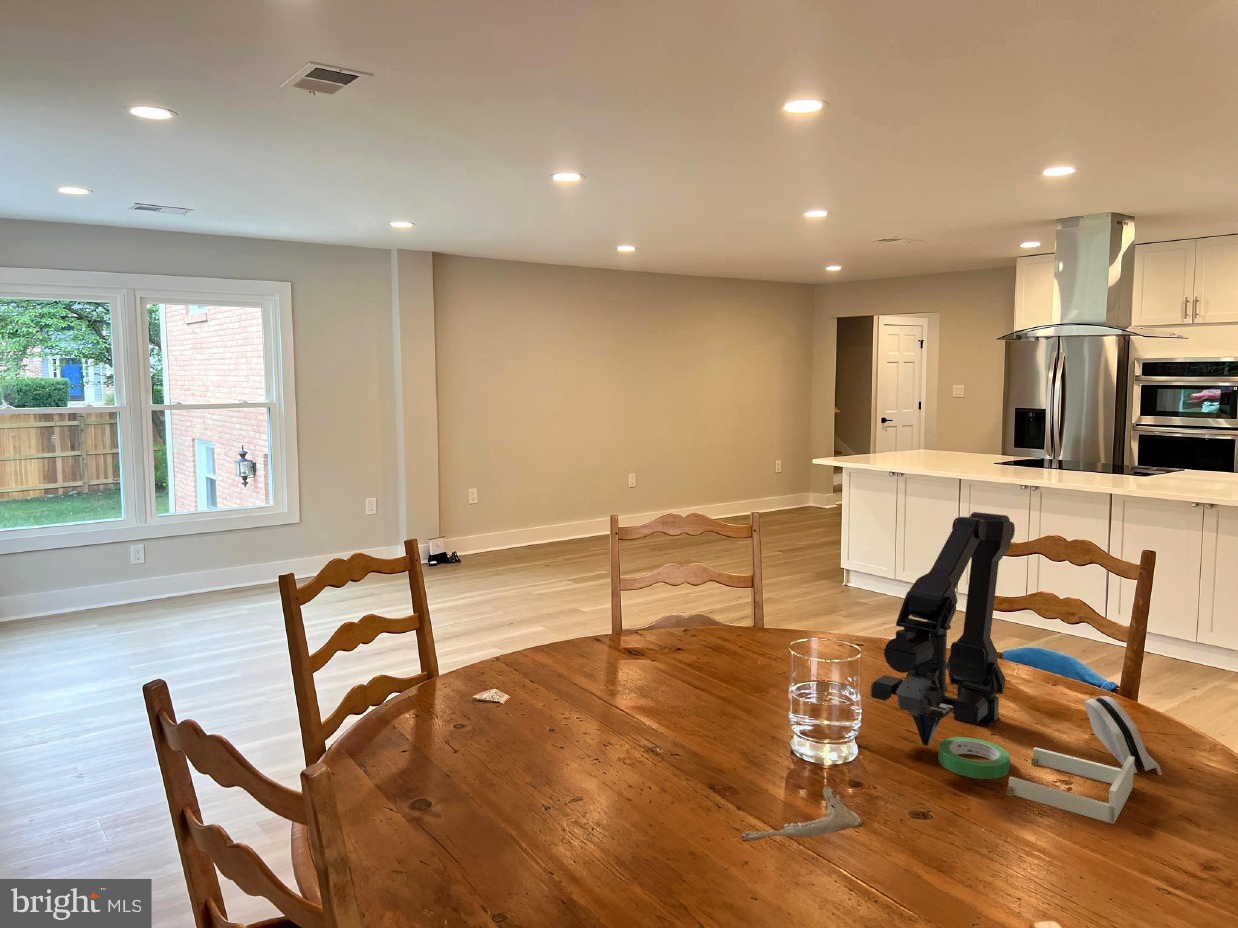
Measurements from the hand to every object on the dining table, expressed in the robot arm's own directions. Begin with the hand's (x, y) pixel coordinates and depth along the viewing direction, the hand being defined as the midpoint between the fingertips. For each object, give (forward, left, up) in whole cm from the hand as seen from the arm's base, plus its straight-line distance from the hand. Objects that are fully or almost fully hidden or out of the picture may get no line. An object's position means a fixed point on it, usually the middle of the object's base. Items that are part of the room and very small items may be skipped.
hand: (926, 744), depth 149 cm
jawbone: (-7, -35, -2) cm, 36 cm away
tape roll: (+8, 0, -2) cm, 8 cm away
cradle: (+23, 0, -1) cm, 23 cm away
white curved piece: (+26, +20, -1) cm, 33 cm away
